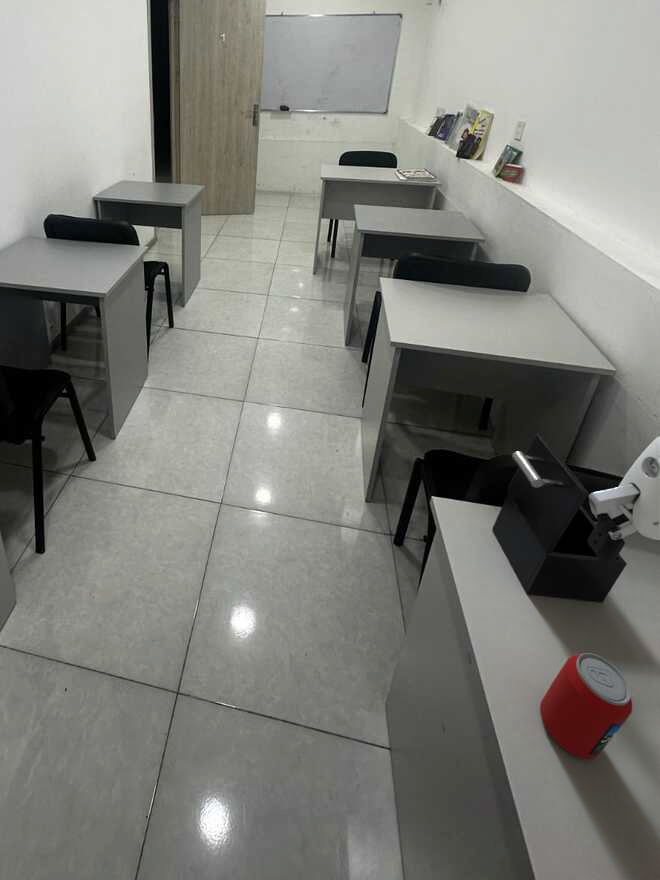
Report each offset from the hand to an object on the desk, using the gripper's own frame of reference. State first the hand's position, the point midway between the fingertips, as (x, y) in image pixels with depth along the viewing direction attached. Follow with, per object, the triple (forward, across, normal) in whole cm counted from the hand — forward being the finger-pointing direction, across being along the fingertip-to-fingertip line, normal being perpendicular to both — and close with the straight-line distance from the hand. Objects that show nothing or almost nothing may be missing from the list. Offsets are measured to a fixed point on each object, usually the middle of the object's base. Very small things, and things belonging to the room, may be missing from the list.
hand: (641, 559), depth 55 cm
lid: (+12, +5, +21) cm, 25 cm away
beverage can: (+29, 0, -3) cm, 29 cm away
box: (+29, +11, +21) cm, 37 cm away
